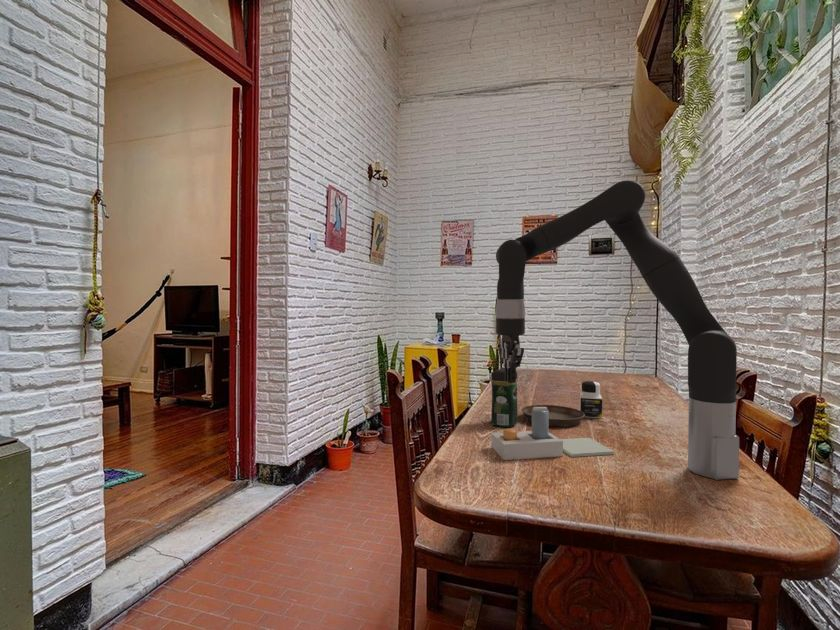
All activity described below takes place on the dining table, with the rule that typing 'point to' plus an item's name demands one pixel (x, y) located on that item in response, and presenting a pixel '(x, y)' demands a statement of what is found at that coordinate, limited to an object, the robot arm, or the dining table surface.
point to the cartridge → (540, 423)
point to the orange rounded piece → (509, 434)
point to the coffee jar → (503, 400)
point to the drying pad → (584, 447)
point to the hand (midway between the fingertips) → (510, 381)
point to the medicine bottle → (591, 400)
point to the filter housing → (526, 446)
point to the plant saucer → (557, 415)
